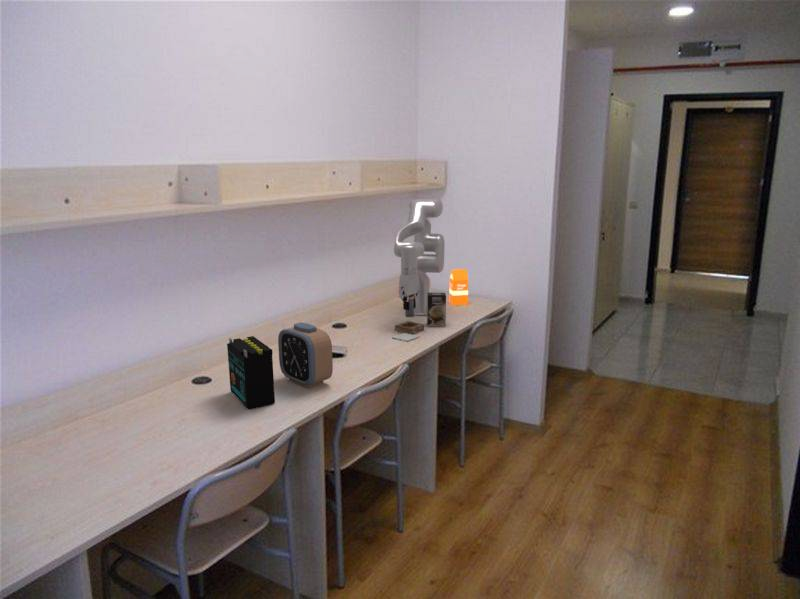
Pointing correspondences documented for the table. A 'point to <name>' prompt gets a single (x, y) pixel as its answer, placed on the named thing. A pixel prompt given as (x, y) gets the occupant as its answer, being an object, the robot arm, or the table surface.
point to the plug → (410, 307)
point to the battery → (251, 372)
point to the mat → (406, 337)
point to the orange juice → (458, 287)
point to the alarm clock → (305, 355)
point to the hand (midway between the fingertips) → (409, 308)
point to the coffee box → (436, 310)
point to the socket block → (409, 327)
